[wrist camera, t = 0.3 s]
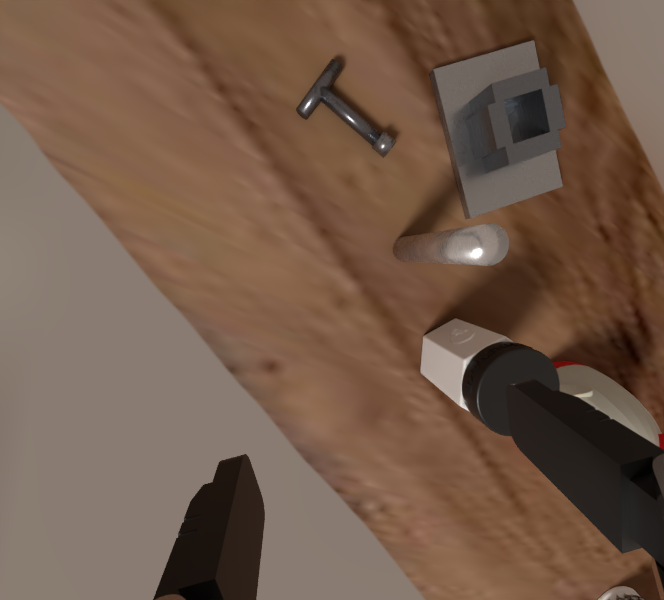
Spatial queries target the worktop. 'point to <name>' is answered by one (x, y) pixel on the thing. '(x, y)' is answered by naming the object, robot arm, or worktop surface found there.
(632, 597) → the decorative candle
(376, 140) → the chuck key
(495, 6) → the worktop surface
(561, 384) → the kitchen timer
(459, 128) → the chuck block
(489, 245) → the steel rod
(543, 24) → the worktop surface
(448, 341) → the jar
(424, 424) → the worktop surface
